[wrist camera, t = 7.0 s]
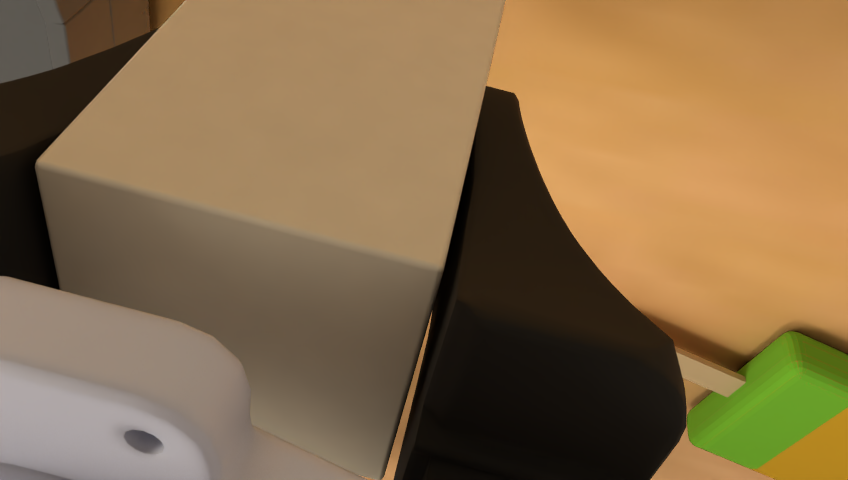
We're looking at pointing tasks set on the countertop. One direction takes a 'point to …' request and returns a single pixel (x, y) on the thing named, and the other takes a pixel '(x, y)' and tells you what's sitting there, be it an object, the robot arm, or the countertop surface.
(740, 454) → the popsicle
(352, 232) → the cream block
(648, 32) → the countertop surface
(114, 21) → the steel cake pan
